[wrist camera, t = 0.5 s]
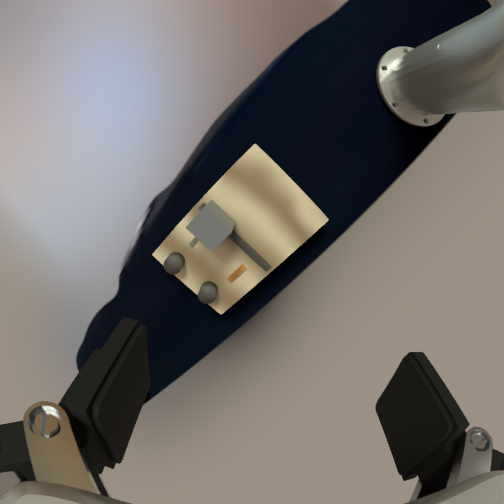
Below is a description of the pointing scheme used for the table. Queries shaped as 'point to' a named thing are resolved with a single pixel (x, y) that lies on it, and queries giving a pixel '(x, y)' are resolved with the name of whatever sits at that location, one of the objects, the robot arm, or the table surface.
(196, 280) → the fader console
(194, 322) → the table surface
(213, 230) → the fader tab
